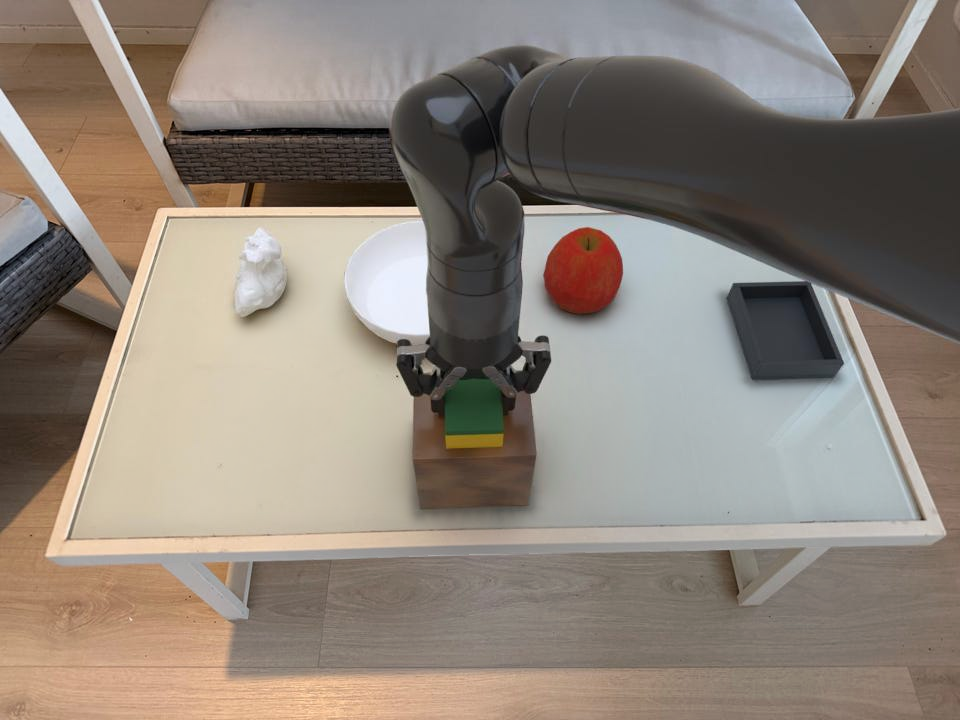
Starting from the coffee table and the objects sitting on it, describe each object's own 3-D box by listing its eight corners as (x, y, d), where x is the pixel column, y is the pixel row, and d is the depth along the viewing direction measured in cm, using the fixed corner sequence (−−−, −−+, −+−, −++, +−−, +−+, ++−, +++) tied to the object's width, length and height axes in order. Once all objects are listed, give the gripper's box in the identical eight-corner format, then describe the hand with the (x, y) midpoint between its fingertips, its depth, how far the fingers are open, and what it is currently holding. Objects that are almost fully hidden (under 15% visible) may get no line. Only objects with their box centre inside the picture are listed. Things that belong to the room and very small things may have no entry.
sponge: (502, 447, 68) (504, 429, 65) (446, 449, 68) (445, 431, 65) (497, 378, 72) (499, 359, 70) (444, 380, 72) (443, 360, 69)
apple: (601, 259, 99) (614, 203, 90) (628, 314, 93) (644, 260, 84) (532, 272, 97) (538, 216, 88) (555, 329, 91) (564, 275, 83)
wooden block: (521, 426, 83) (528, 369, 73) (528, 505, 77) (536, 455, 67) (420, 429, 83) (413, 373, 73) (419, 509, 77) (412, 459, 67)
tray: (833, 377, 88) (844, 363, 85) (752, 379, 87) (760, 365, 85) (801, 295, 95) (810, 280, 93) (726, 297, 95) (733, 282, 92)
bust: (260, 337, 93) (298, 297, 85) (204, 312, 89) (239, 268, 82) (281, 270, 100) (318, 228, 92) (231, 245, 96) (265, 198, 88)
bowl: (510, 353, 89) (512, 323, 84) (357, 375, 87) (350, 346, 82) (481, 244, 100) (482, 212, 95) (345, 261, 98) (338, 229, 93)
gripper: (382, 339, 53) (400, 444, 67) (569, 334, 54) (548, 439, 68) (385, 266, 58) (401, 379, 71) (558, 263, 58) (541, 375, 72)
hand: (473, 408), depth 69 cm, fingers closed on sponge, 5 cm apart
